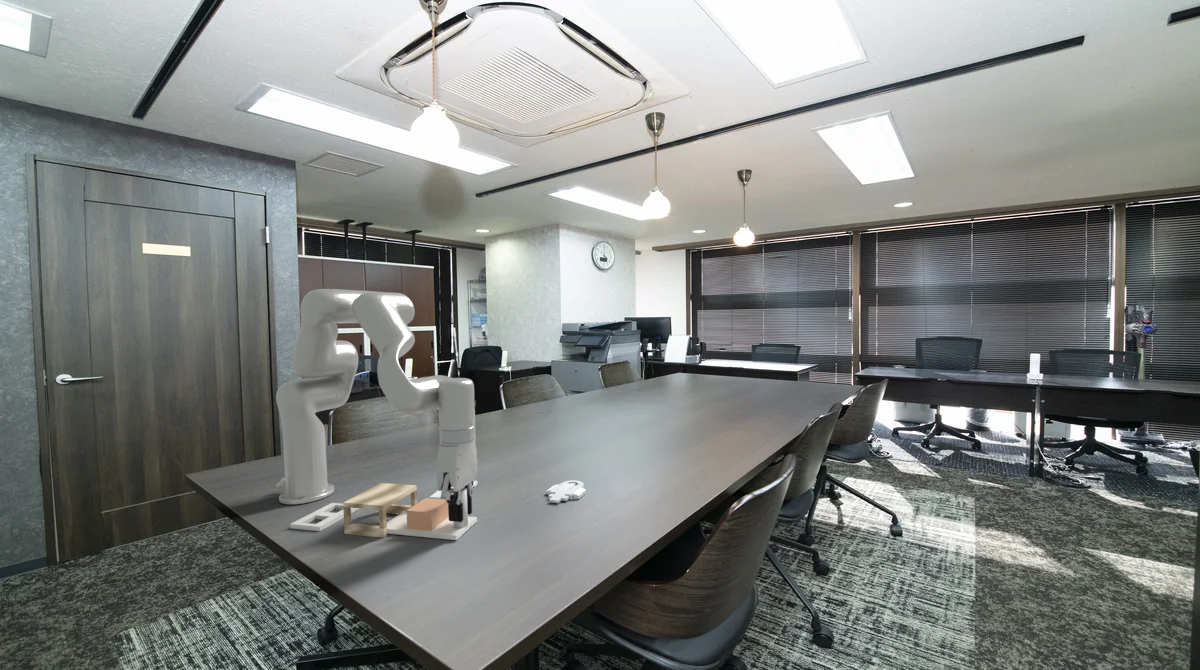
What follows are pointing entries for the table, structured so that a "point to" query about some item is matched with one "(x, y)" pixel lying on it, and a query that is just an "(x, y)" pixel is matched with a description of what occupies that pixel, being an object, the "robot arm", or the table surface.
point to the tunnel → (378, 507)
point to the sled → (431, 520)
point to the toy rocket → (566, 491)
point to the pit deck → (321, 518)
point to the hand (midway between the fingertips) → (460, 516)
